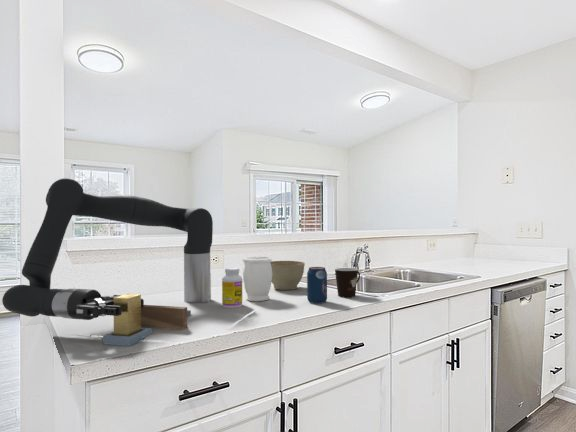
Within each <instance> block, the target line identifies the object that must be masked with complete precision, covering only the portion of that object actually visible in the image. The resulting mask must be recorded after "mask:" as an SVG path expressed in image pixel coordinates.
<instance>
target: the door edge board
mask: <svg viewBox="0 0 576 432" xmlns="http://www.w3.org/2000/svg"><path fill="white" fill-rule="evenodd" d="M187 310H188V306H174V305H171V306H170V305H158V304H157V305H153V304H144V306H143V307H142V308H141V328H153V329H154V328H155V329H169V330H182V331H183V330H185V329H188V316H187Z"/></svg>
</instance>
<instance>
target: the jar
mask: <svg viewBox="0 0 576 432" xmlns="http://www.w3.org/2000/svg"><path fill="white" fill-rule="evenodd" d="M271 261H273V259H272V257H267V256H251V257H244V258H242V262H243V263H244V265H243V269H242V270H243V271H242V281H243V284H244V290H245V294H246V295H247V296H246V297H245V298H246V299H245V300H247V301H249V302H263V301H264V302H265V301H268V300H269V299H270V296H269V294H270V292H271V288H272V282H271V281H272V267H271V264H270V262H271Z"/></svg>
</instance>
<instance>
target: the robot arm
mask: <svg viewBox="0 0 576 432" xmlns="http://www.w3.org/2000/svg"><path fill="white" fill-rule="evenodd" d="M45 203H46V206H47V207H46V212H45V213H44V214H45V215H44V217H43V220H42V223H41V225H40V227H39V230H38V232H37V234H36V236H35V238H34V239H33V242H32V245H31V247H30V249H29V251H28V253H27V256H26V257H25V258H26V259H25V261H24V264H23V266H22V269H21V275H22V276H23V277H24V278H26V279H27V280H28V282H29V283H28V285H27V284H19V285H18V284H17V285H14V286H12V287H10V288H9V289H7V290H6V291H5V293H3V296H2V300H1V301H2V302H1V303H2V305H3V307H4V308H5V309H6V311H9V312H12V313H15V314H19V315H23V316H26V317H31V318H32V317H37V316H39V315H42V316H45V317H57V318H62V319H63V318H64V319H69V320H84V321H89V320H90V321H91V320H93V319H96V318H99V317H106V316H113V317H114V316H119V315H121V306H114V298H115V297H118V296H122V295H123V294H121V295H119V294H114V295H111V296H110V295H104V296H102V295H101V293H100V291H99V290H96V289H91V288H66V289H65V288H51V283H52V282H51V281H52V273H53V271H54V268H55V265H56V263H57V259H58V256H59V254H60V251H61V247H62V244H63V240H64V238H65V234H66V231H67V228H68V226H69V223H70V221H71V219H72V217H73V216H75V217H76V216H79V217H90V218H91V217H92V218H97V219H103V220H107V221H114V222H120V223H124V224H129V225H135V226H144V227H145V226H146V227H163V228H164V227H165V228H171V229H174V230H178V231H183V232H185V233H187V237H186V239H187V240H186V243H185V244H184V246H183V293H184V294H183V300H184V301H183V302H184V303H190V304H191V303H192V304H195V303H196V304H204V303H208V302H210V301H211V299H212V288H211V287H212V284H211V283H212V280H211V279H212V278H211V277H212V276H211V275H212V273H211V247H212V244H213V232H214V231H213V230H214V229H213V227H214V226H213V222H214V221H213V217H212V215H211V213H210V211H209V210H207V209H205V208H201V207H197V208H196V207H195V208H185V207H184V208H183V207H173V206H169V205H166V204H164V203H162V202H158V201H156V200H153V199H150V198H146V197H141V196H136V195H132V194H114V195H113V194H112V195H110V194H109V195H98V194H97V195H96V194H91V193H89V192H88V193H87V192H84V189H83V186H82V185H81V184H80V182H78V181H77V180H75V179H73V178H69V177H64V178H59V179H58V180H55V181H54V182H52V184H51V185H50V186H49V189H48V190H47V193H46V196H45ZM144 302H145V300H144V298H141V308H142V307H143V306H144V305H145V304H144Z"/></svg>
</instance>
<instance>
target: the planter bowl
mask: <svg viewBox="0 0 576 432" xmlns="http://www.w3.org/2000/svg"><path fill="white" fill-rule="evenodd" d="M270 264H271V267H272V281H271V284H272V285H273V288H274V289H275V290H279V291H280V290H282V291H291V290H296V289H297V287H298V285H299V283H300V282H301V280H302V279H303V276H304V272H305V262H304V261H300V260H299V261H297V260H272V261H271V262H270Z"/></svg>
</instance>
